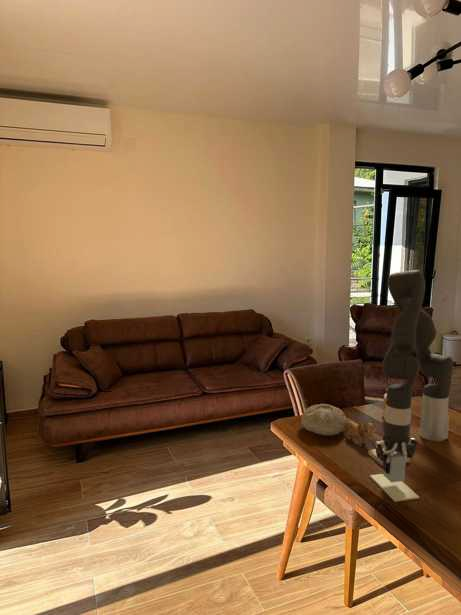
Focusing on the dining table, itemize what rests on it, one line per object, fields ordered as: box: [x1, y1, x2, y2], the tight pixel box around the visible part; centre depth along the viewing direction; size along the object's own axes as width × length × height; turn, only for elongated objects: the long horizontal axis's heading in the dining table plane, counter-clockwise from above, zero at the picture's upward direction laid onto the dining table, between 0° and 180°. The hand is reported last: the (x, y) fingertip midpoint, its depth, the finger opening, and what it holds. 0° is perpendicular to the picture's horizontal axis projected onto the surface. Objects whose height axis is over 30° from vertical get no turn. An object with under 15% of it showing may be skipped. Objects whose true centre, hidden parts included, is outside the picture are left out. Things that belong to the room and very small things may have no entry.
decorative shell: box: [301, 403, 348, 437], centre depth 175 cm, size 18×18×10 cm
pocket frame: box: [367, 447, 410, 467], centre depth 153 cm, size 10×9×2 cm
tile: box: [369, 473, 420, 503], centre depth 135 cm, size 8×14×1 cm, turn 12°
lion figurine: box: [341, 420, 377, 447], centre depth 166 cm, size 15×5×9 cm, turn 36°
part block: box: [382, 450, 407, 482], centre depth 134 cm, size 4×4×8 cm
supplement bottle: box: [382, 392, 387, 418], centre depth 189 cm, size 7×7×13 cm
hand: (393, 471), depth 134 cm, fingers closed on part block, 4 cm apart
